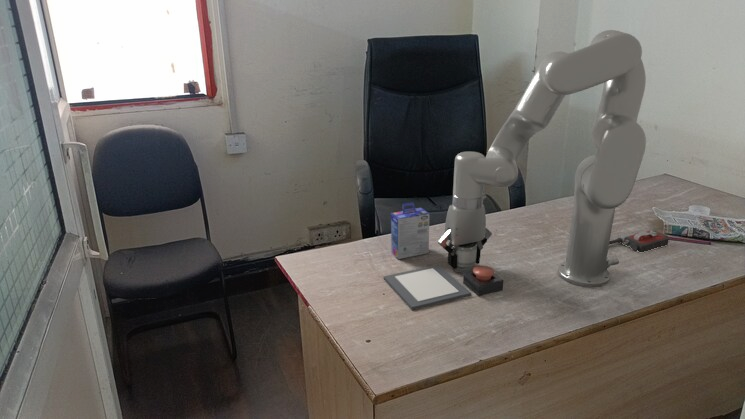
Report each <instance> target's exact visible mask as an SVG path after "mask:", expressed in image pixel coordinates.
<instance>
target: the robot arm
mask: <svg viewBox="0 0 745 419" xmlns="http://www.w3.org/2000/svg"><path fill="white" fill-rule="evenodd" d="M642 54H643V49H642V45H641V42H640V41H639V40H638V39H637V38H636V37H635V36H634V35H632V34H630V33H626V32H623V31H619V30H613V29H608V30H604V31H601V32H599V33H598V34H596V35H595V36H594V37H593V38H592V40H591V41H590V44H589V45H588V46H585V47H583V48H580V49H577V50H574V51H572V52H565V51H554V52H551V53H549V54H548V55H546V56H545V57H544V58H543V59H542V60H541V62H540V64H539V65H538V67H537V69H536V70H535V73H534V74H533V76H532V78H531V80H530V81H529V83H528V85H527V87H526V89H525V90H524V92H523V94H522V96H521V97H520V99H519V100H518V102H517V104H516V106H515V108H514V109H513V110H512V112H511V113H510V115H509V116H508V118H507V119H506V121H505V122H504V124H503V125H502V126H501V128H500V129H499V131H498V133H497V134H496V136H495V138H494V140H493V142H492V143H491V145H490V147H489V149H488V151H487V153H486V155H484V154H483V153H480V152H479V151H478V152H477V151H470V150H469V151H462V152H460V153H457V155H455V158H454V170H453V186H452V204H450V205H449V207H448V210H447V214H446V218H445V223H444V224H445V225H444V234H443V235H442V236H441V238H440V239H438V241H437V244H438V245H440V247H442V248H443V249H444V250H445V251H446V252H447V263H448V264H447V265H449V266H450V267H451V268H452V269H453V270H454V269H456V268H457V255H456V254H455V253H456V251H457V249H458V247H459V245H463V244H468V243H473V242H476V244H477V253H476V264H477V265H478V264H480V259H481V252H482V250H483V249H484V246H485V244H486V243H487V242H488V240H489V239H490V237H491V236H492V234H493V233H492V232H491V231H490V230H489V229H488V228H487V226H486V225H487V224H486V223H487V219H486V218H487V217H486V209H485V204H483V203H484V200H486V199H487V194H486V193H484V187H485V186H490V187H493V188H494V187H495V188H508V187H510V186H512V185H513V184H514V183H516V181H517V180H518V177H519V169H518V165H517V159H518V157H519V156H520V154H521V152H522V151H523V149H524V147H525V146H526V145H527V143H528V142H529V141H530V139H531V138H532V137H533V136H534V135H535V134H537V133H539V132H540V131H544V129H545V128H547V127H548V125H549V124H550V122H551V120H552V119H553V117H554V115H555V114H556V111H557V110H558V109H559V107H560V105H561V103H562V101H563V100H564V98H565V97H566V96H569V95H574V94H578V93H579V92H582V91H586V90H588V89H591V88H594V87H597V86H598V85H601V84H603V88H602V92H601V93H602V94H601V98H600V101H599V104H598V108H597V112H596V115H595V119H594V122H593V125H592V128H591V132H590V139H591V141H592V144H593V145H594V146H595V148H596V149H597V150H596V154H593V155H590V156H588V157H586V158H584V159H583V160H582V161H581V162H580V163H579V165H578V166H577V168H576V171H575V175H574V191H573V192H574V193H573V194H574V195H573V204H572V205H573V206H572V214H571V220H570V226H569V227H570V228H569V235H568V236H569V237H568V240H567V242H568V243H567V249H566V256H565V261H564V262H561V263H560V264H559V265H558V268H557V273H558V275H559V276H560V277H561V279H563V280H565V281H566V282H568V283H570V284H573V285H576V286H581V287H587V288H589V287H590V288H591V287H592V288H593V287H594V288H595V287H601V286H605V285H607V284H608V283H610V280H611V274H610V272H609V270H608V269H609V268H610V267H611V266H617V265H619V263H620V259H619V258H618V257H617V256H615V257H610V258H608V254H609V253H608V252H609V248H610V245H609V242H610V241H611V236H612V235H611V234H612V229H613V223H614V218H615V212H616V208H618V207H620V206H621V205H623V204H624V203H625V202H626V201H627V200H628V198H629V197H630V195H631V193H632V191H633V188H634V186H635V182H636V179H637V177H638V173H639V171H640V168H641V164H642V161H643V158H644V154H645V151H646V147H647V137H646V133H645V131H644V129H643V128H642V126H641V125H640V124H639V123H638V117H639V114H640V109H641V106H642V102H643V99H644V94H645V89H646V71H645V66H644V63H643V58H642ZM448 241H449V242H448ZM447 242H448V244H447ZM453 245H454V246H453ZM476 264H475V265H476Z"/></svg>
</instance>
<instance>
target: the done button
mask: <svg viewBox="0 0 745 419" xmlns="http://www.w3.org/2000/svg"><path fill="white" fill-rule="evenodd" d="M473 273H474V274H475V275H476V278H477V279H478V280H479V281H480V282H483V281H487V280H491V277H492V276H493V275H494V274H495V273H496V272H495V269H494V268H493V267H490V266H488V265H477V266H475V267H474V269H473Z"/></svg>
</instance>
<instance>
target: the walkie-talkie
mask: <svg viewBox="0 0 745 419" xmlns="http://www.w3.org/2000/svg"><path fill="white" fill-rule="evenodd" d="M620 242H622V243H623V244H624V245H627V246H630V247H631V248H632V249H631V248H630V249H631V250H632V251H633V250H634V251H633V252H637V250H638V251H639V252H644V251H648V250H651V249H654V248H657V247H661V246H665V245H667V246H668V244H669V236H668V235H666V234H664V233H661V232H659V231H657V230H654V229H653V230H647V231H645V230H643V231H640V232H637V233H629V232H628V233H625V234H622V235H621V234H620V235H617V238H615V239H613V240H611V239H610V242H609V246H610V245H614V244H618V243H620ZM622 243H620V244H622ZM623 244H622V246H623ZM627 246H626V247H627ZM665 247H666V246H665ZM661 248H662V247H661ZM654 250H655V249H654ZM651 251H652V250H651ZM639 252H638V253H639ZM648 252H649V251H648ZM644 253H645V252H644Z"/></svg>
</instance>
